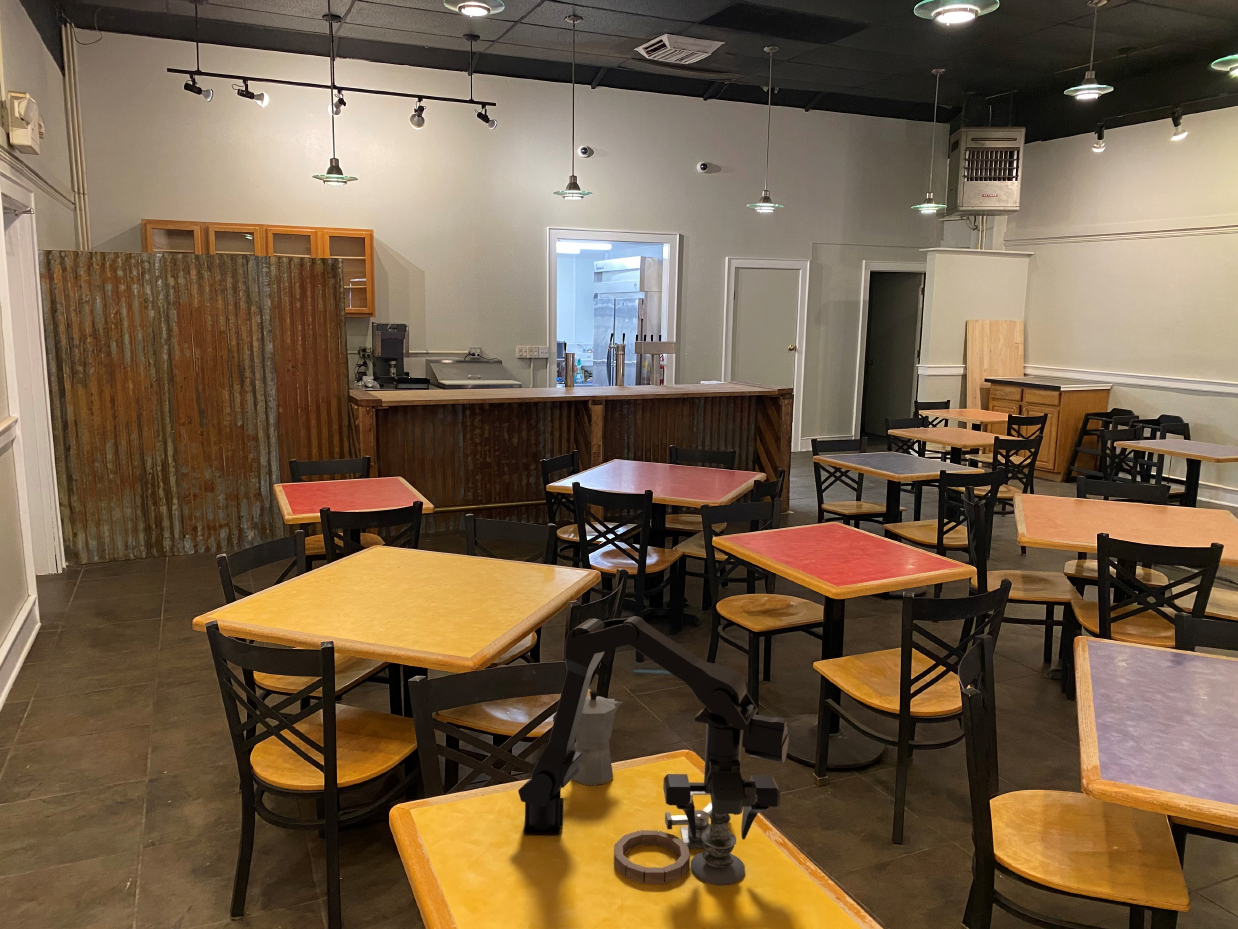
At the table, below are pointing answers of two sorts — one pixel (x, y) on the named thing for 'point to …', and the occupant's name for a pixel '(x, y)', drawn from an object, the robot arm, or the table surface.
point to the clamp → (700, 819)
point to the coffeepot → (595, 740)
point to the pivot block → (689, 839)
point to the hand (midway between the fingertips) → (718, 838)
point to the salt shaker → (718, 841)
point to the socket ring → (651, 873)
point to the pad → (717, 871)
